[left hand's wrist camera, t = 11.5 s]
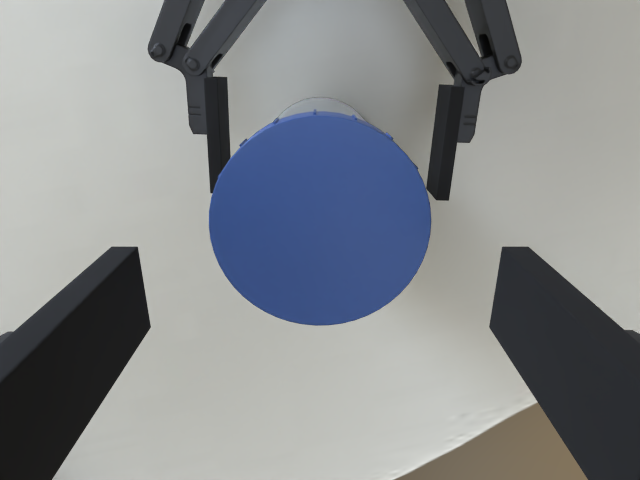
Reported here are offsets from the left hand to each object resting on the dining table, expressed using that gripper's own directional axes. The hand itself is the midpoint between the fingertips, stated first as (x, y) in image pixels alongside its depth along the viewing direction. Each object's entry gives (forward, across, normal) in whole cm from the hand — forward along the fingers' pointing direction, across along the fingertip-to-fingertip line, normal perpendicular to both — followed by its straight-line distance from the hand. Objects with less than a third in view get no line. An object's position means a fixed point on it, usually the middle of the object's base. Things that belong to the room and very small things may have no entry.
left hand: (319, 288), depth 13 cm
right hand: (+15, +1, -1) cm, 15 cm away
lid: (+5, 0, 0) cm, 5 cm away
